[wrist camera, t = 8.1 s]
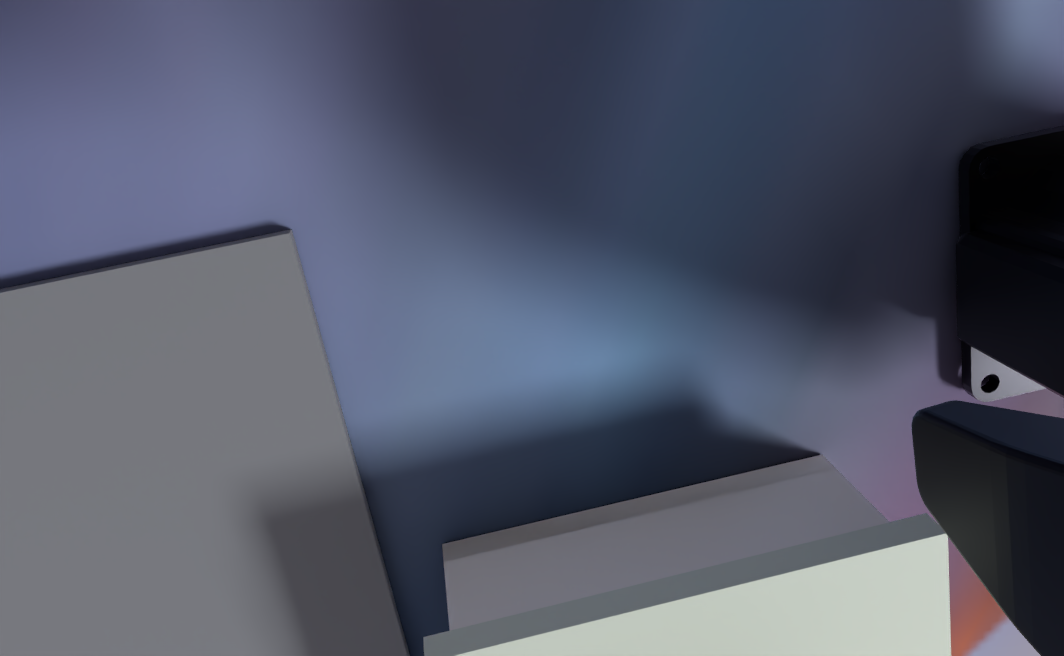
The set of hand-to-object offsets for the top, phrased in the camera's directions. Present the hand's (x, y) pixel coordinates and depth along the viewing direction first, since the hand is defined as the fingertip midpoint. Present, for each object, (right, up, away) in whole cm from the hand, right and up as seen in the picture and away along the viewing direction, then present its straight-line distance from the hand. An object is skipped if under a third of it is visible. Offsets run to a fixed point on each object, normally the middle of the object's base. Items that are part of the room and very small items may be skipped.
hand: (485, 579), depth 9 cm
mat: (-10, -3, +12) cm, 16 cm away
